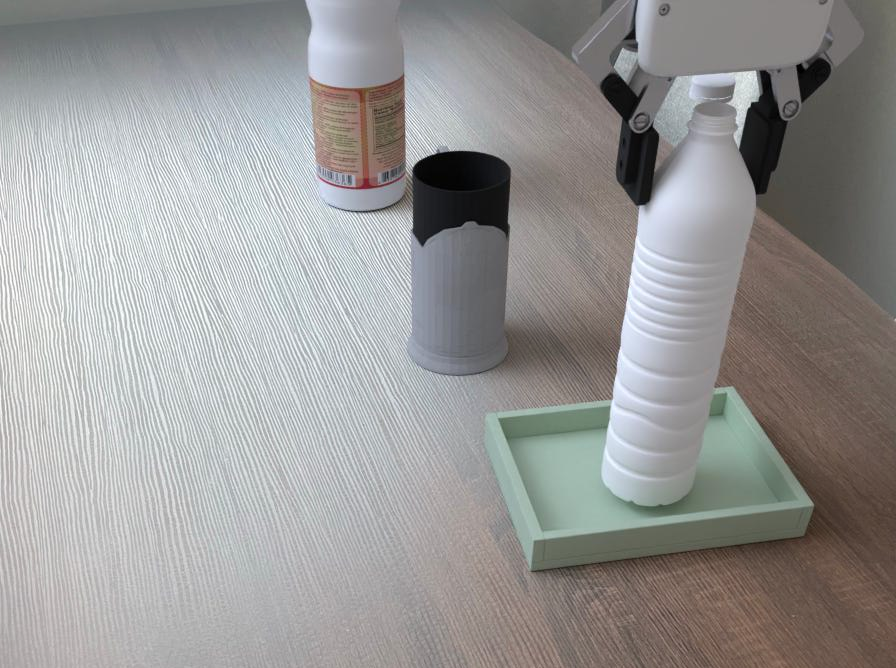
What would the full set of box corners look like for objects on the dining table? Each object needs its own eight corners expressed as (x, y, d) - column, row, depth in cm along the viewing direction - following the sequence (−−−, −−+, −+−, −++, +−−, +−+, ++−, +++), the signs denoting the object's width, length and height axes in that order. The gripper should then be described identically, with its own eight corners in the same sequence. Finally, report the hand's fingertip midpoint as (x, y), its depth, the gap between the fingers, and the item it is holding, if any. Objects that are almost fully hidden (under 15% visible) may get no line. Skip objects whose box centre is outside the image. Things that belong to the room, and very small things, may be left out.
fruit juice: (317, 214, 106) (291, -116, 85) (318, 176, 112) (294, -140, 92) (408, 212, 106) (403, -118, 86) (404, 173, 113) (399, -142, 92)
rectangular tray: (725, 416, 81) (733, 385, 79) (804, 536, 71) (815, 505, 69) (483, 443, 79) (485, 413, 77) (530, 571, 69) (533, 540, 67)
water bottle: (693, 512, 70) (782, 132, 52) (598, 503, 71) (653, 126, 53) (691, 438, 76) (771, 74, 58) (603, 431, 77) (655, 69, 59)
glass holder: (415, 379, 85) (413, 199, 74) (391, 295, 95) (386, 124, 84) (518, 369, 86) (531, 190, 75) (484, 286, 95) (491, 117, 84)
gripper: (904, -231, 49) (805, 152, 63) (557, -215, 48) (530, 176, 61) (989, -205, 44) (862, 205, 58) (604, -186, 43) (564, 233, 56)
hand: (692, 187), depth 59 cm, fingers closed on water bottle, 6 cm apart
